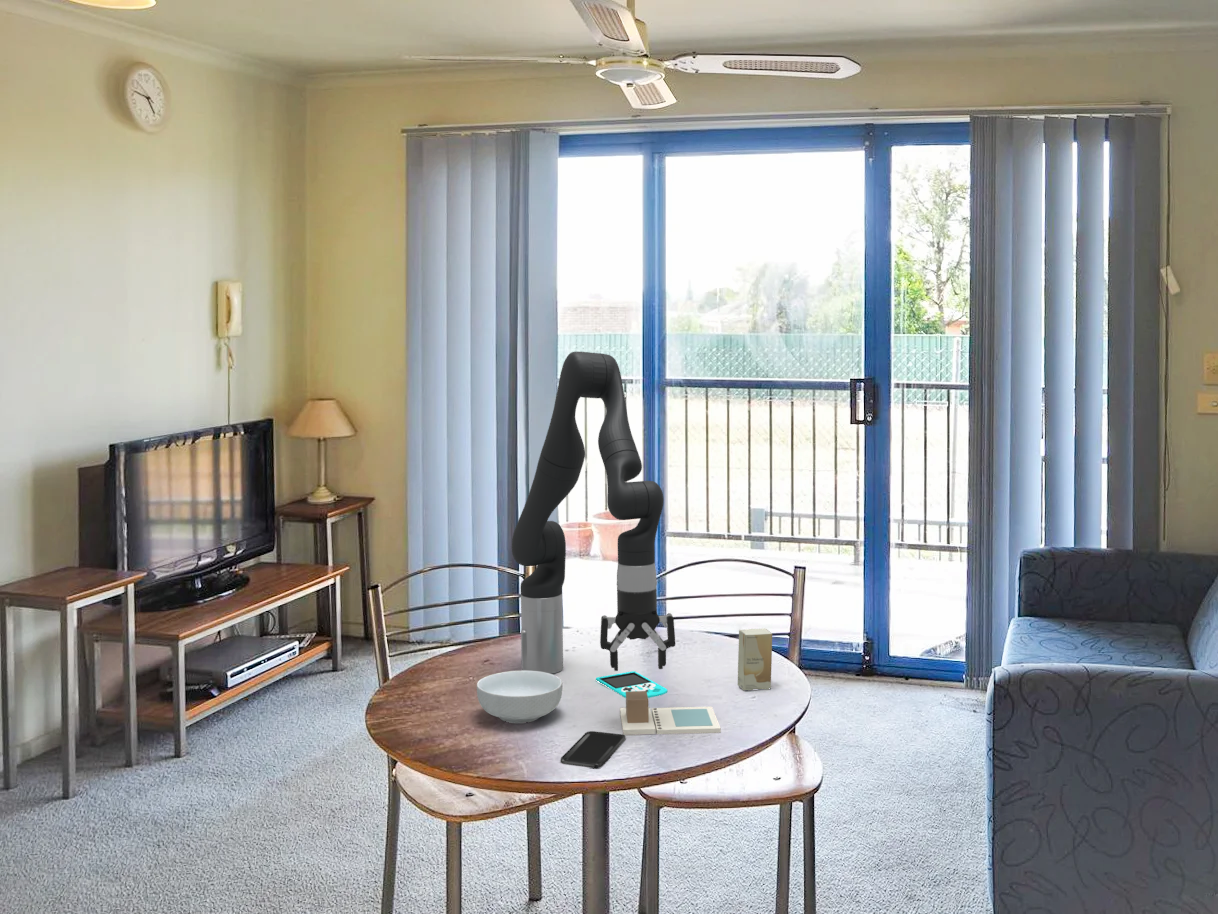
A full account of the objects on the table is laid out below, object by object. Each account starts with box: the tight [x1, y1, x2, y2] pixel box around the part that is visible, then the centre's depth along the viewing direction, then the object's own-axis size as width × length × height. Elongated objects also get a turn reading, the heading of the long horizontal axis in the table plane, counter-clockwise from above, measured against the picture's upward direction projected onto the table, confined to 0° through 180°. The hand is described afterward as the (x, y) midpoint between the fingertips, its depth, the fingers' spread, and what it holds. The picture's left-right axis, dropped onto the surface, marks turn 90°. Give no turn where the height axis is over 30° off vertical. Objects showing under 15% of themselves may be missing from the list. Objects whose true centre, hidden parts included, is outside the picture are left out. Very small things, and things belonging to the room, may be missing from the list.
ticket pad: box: [651, 706, 722, 735], centre depth 215 cm, size 12×12×1 cm
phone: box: [560, 730, 627, 770], centre depth 202 cm, size 8×1×15 cm
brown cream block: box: [619, 691, 656, 736], centre depth 215 cm, size 6×12×6 cm, turn 2°
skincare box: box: [737, 627, 773, 691], centre depth 235 cm, size 6×4×12 cm
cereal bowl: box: [476, 670, 563, 724], centre depth 219 cm, size 17×17×7 cm
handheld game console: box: [595, 670, 668, 699], centre depth 237 cm, size 10×16×1 cm, turn 28°
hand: (638, 669), depth 214 cm, fingers open, 8 cm apart
